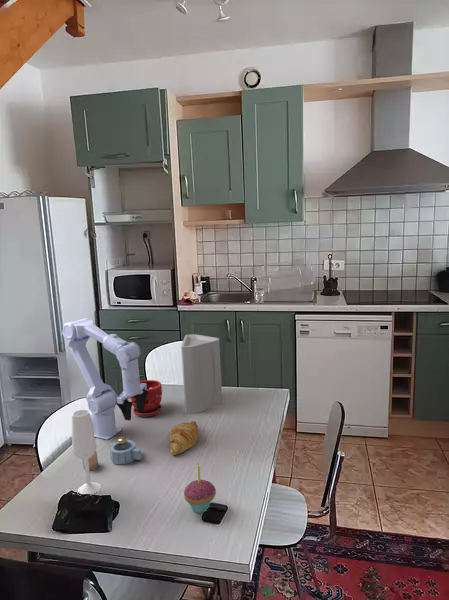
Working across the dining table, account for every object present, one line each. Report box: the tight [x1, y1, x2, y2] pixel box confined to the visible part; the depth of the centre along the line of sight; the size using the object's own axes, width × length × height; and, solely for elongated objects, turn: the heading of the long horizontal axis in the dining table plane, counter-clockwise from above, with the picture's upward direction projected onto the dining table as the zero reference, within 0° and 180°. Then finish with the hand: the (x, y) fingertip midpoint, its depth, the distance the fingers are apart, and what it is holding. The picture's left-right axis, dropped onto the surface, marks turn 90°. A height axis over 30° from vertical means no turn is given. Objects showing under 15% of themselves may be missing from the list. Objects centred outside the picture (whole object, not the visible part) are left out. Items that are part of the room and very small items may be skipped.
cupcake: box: [183, 462, 217, 514], centre depth 118 cm, size 9×8×12 cm
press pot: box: [109, 439, 142, 466], centre depth 145 cm, size 11×8×4 cm
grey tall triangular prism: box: [180, 333, 223, 415], centre depth 184 cm, size 19×15×28 cm
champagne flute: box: [71, 408, 102, 494], centre depth 127 cm, size 7×7×24 cm
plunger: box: [117, 436, 128, 451], centre depth 145 cm, size 5×5×6 cm
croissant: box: [169, 420, 199, 456], centre depth 154 cm, size 21×10×8 cm, turn 165°
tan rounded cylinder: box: [82, 450, 99, 471], centre depth 141 cm, size 5×5×4 cm
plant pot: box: [129, 379, 163, 418], centre depth 180 cm, size 13×13×12 cm
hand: (134, 415), depth 154 cm, fingers open, 7 cm apart
